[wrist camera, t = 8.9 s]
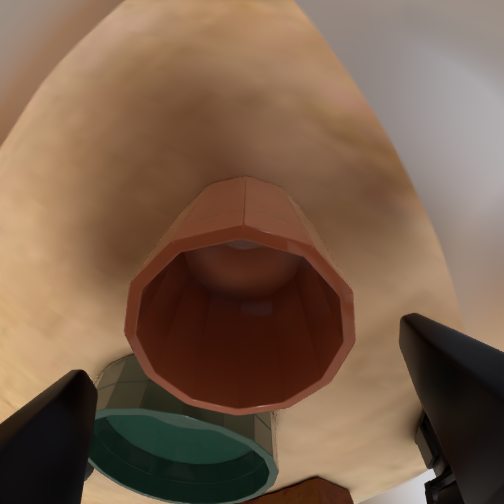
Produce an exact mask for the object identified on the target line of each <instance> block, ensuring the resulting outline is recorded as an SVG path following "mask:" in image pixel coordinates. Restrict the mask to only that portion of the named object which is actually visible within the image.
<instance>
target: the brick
mask: <svg viewBox="0 0 504 504" xmlns="http://www.w3.org/2000/svg"><path fill="white" fill-rule="evenodd" d="M239 504H354V503H353V500H352V497H351V495H350V492H349V491H348V490H345V489H342V488H340V487H338V486H335V485H333V484H331V483H329V482H326V481H324V480H322V479H319V478H316V479H312V480H307V481H305V482H303V483H301V484H299V485H296V486H293V487H290V488H286V489H283V490H281V491H279V492H276V493H273V494H269V495H264V496H262V497H260V498H257V499H253V500H247V501H244V502H242V503H239Z"/></svg>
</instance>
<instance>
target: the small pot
mask: <svg viewBox="0 0 504 504" xmlns="http://www.w3.org/2000/svg"><path fill="white" fill-rule="evenodd" d="M124 332H125V336H126V338H127V340H128V342H129V344H130V346H131V348H132V350H133V352H134V354H135V356H136V358H137V359H138V361H139V363H140V365H141V367H142V369H143V370H144V372H145V374H146V375H147V376H148V377H149V378H150V379H151V380H153V381H154V382H156V383H157V384H158V385H160V386H161V387H162V388H164V389H165V390H167V391H168V392H170V393H171V394H173V395H174V396H175V397H177V398H178V399H180V400H181V401H183V402H184V403H186V404H188V405H191V406H195V407H199V408H204V409H208V410H212V411H217V412H222V413H227V414H231V415H247V414H254V413H261V412H268V411H274V410H280V409H286V408H287V407H288V408H289V407H291V406H292V405H294V404H296V403H298V402H299V401H301V400H303V399H304V398H306V397H308V396H309V395H311V394H313V393H314V392H316V391H318V390H319V389H321V388H323V387H324V386H326V385H327V384H329V383H330V382H331V381H332V379H333V378H334V376H335V375H336V373H337V371H338V370H339V368H340V367H341V365H342V363H343V362H344V360H345V358H346V357H347V355H348V353H349V352H350V350H351V348H352V347H353V345H354V343H355V340H356V335H355V315H354V299H353V291H352V289H351V287H350V285H349V284H348V282H347V280H346V278H345V277H344V275H343V273H342V272H341V270H340V268H339V267H338V265H337V263H336V262H335V260H334V258H333V257H332V255H331V254H330V252H329V250H328V249H327V247H326V245H325V244H324V242H323V241H322V239H321V237H320V236H319V234H318V233H317V231H316V229H315V228H314V226H313V225H312V223H311V222H310V220H309V218H308V217H307V215H306V214H305V212H304V211H303V210H302V209H301V208H300V207H299V205H298V204H297V203H296V202H295V201H294V200H293V199H292V198H291V196H290V195H289V194H288V193H287V192H286V191H285V190H284V189H283V188H282V187H281V186H278V185H275V184H271V183H268V182H265V181H262V180H259V179H256V178H252V177H249V176H242V177H237V178H233V179H229V180H224V181H220V182H216V183H212V184H210V185H208V186H207V187H206V188H205V189H204V190H203V191H202V192H200V193H199V194H198V195H197V196H196V197H195V198H194V199H193V200H192V201H191V202H190V203H189V204H188V205H187V206H186V207H185V208H184V209H183V211H182V212H181V213H180V215H179V216H178V217H177V218H176V220H175V221H174V222H173V224H172V225H171V226H170V228H169V229H168V230H167V232H166V233H165V234H164V236H163V237H162V238H161V240H160V241H159V242H158V244H157V245H156V246H155V248H154V249H153V251H152V252H151V253H150V255H149V256H148V257H147V259H146V260H145V262H144V263H143V264H142V266H141V267H140V269H139V270H138V272H137V273H136V274H135V276H134V277H133V279H132V280H131V283H130V284H129V292H128V300H127V308H126V316H125V326H124Z"/></svg>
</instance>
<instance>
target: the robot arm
mask: <svg viewBox="0 0 504 504" xmlns="http://www.w3.org/2000/svg"><path fill="white" fill-rule="evenodd" d="M399 345H400V349H401V352H402V354H403V357H404V360H405V362H406V365H407V368H408V370H409V373H410V376H411V379H412V382H413V384H414V387H415V390H416V392H417V395H418V397H419V399H420V402H421V404H422V406H423V408H424V410H423V414H422V418H421V421H420V424H419V426H418V430H417V433H416V436H415V443H416V444H417V445H418V448H419V450H420V452H421V455H422V457H423V460H424V462H425V465H426V467H427V468H428V469H432V468H433V470H434V472H435V475H436V478H435V479H433V480H431V481H428V482H426V483H425V484H424V485H425V490H426V491H425V495H426V501H427V504H504V352H502V351H500V350H498V349H495V348H493V347H491V346H489V345H487V344H484V343H482V342H480V341H478V340H476V339H473V338H471V337H469V336H467V335H465V334H462V333H460V332H458V331H456V330H454V329H451V328H449V327H447V326H445V325H442V324H440V323H438V322H436V321H434V320H431V319H429V318H427V317H425V316H422V315H420V314H418V313H411V314H408V315H405V316H403V317H402V318H401V320H400V334H399ZM97 400H98V391H97V388H96V387H95V385H94V384H93V382H92V381H91V379H90V378H89V376H88V374H87V373H86V372H85V371H84V370H81V369H80V370H71V371H70V372H68V373H67V374H66V375H64V376H63V377H62V378H60V379H59V380H58V381H56V382H55V383H54V384H52V385H51V386H50V387H48V388H47V389H46V390H44V391H43V392H42V393H40V394H39V395H38V396H36V397H35V398H34V399H33V400H31V401H30V402H29V403H27V404H26V405H25V406H23V407H22V408H21V409H19V410H18V411H17V412H15V413H14V414H13V415H11V416H10V417H9V418H7V419H6V420H5V421H4V422H2V423H1V424H0V504H81V497H82V491H83V485H84V479H85V474H86V468H87V463H88V458H89V453H90V448H91V443H92V438H93V431H94V423H95V415H96V407H97Z"/></svg>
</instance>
